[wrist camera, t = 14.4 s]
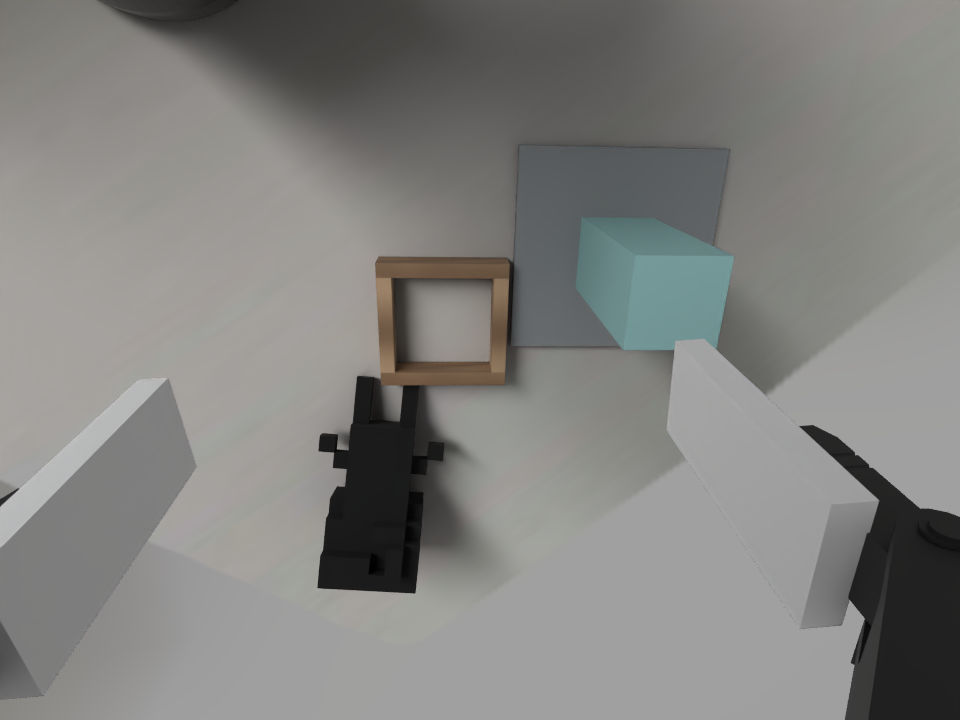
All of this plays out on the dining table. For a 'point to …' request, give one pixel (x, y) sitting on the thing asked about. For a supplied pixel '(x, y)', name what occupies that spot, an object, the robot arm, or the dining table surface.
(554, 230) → the pad
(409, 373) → the wooden square frame
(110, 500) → the robot arm
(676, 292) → the block
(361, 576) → the toy
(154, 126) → the dining table surface
